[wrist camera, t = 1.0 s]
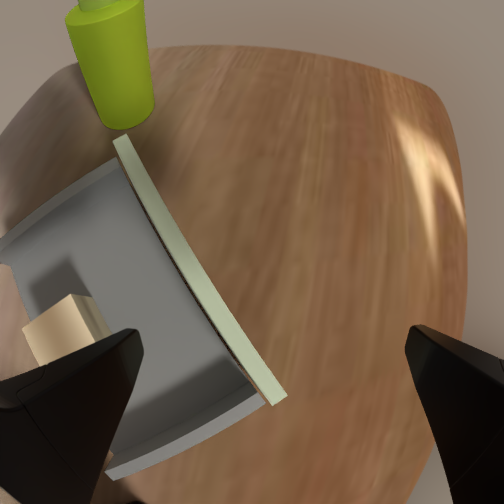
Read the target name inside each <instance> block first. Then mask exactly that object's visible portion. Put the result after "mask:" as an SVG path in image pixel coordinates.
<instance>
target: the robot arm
mask: <svg viewBox="0 0 504 504" xmlns="http://www.w3.org/2000/svg"><path fill="white" fill-rule="evenodd" d="M405 354H406V357H407V361H408V364H409V367H410V371H411V374H412V378H413V381H414V384H415V387H416V390H417V393H418V395H419V398H420V400H421V403H422V406H423V408H424V411H425V413H426V416H427V419H428V422H429V424H430V427H431V430H432V433H433V436H434V438H435V441H436V444H437V447H438V451H439V453H440V456H441V460H442V463H443V466H444V470H445V473H446V477H447V481H448V484H449V487H450V492H451V496H452V500H453V504H504V360H502V359H499V358H498V357H495V356H493V355H491V354H489V353H486V352H484V351H482V350H479V349H477V348H475V347H473V346H470V345H468V344H466V343H463V342H461V341H459V340H457V339H454V338H452V337H450V336H447V335H445V334H443V333H441V332H438V331H436V330H434V329H431V328H429V327H427V326H425V325H421V324H420V325H413V326H411V327H410V329H409V333H408V337H407V340H406V344H405ZM143 357H144V348H143V344H142V340H141V336H140V333H139V331H138V330H137V329H133V328H125V329H123V330H121V331H119V332H117V333H114V334H112V335H110V336H108V337H106V338H103V339H101V340H99V341H97V342H95V343H92V344H90V345H88V346H86V347H83V348H81V349H79V350H77V351H74V352H72V353H70V354H68V355H65V356H63V357H61V358H59V359H56V360H54V361H52V362H49V363H48V364H45V365H42V366H40V367H38V368H35V369H33V370H31V371H28V372H26V373H23V374H20V375H17V376H15V377H12V378H9V379H6V380H3V381H0V504H90V501H91V498H92V495H93V491H94V489H95V486H96V483H97V481H98V478H99V475H100V472H101V470H102V467H103V464H104V462H105V459H106V456H107V454H108V451H109V448H110V446H111V443H112V441H113V438H114V436H115V433H116V431H117V428H118V426H119V423H120V421H121V418H122V416H123V414H124V411H125V409H126V406H127V404H128V402H129V399H130V397H131V394H132V392H133V389H134V386H135V383H136V380H137V376H138V373H139V370H140V366H141V363H142V360H143ZM128 504H141V503H140V502H136V501H135V502H131V503H128Z"/></svg>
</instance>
